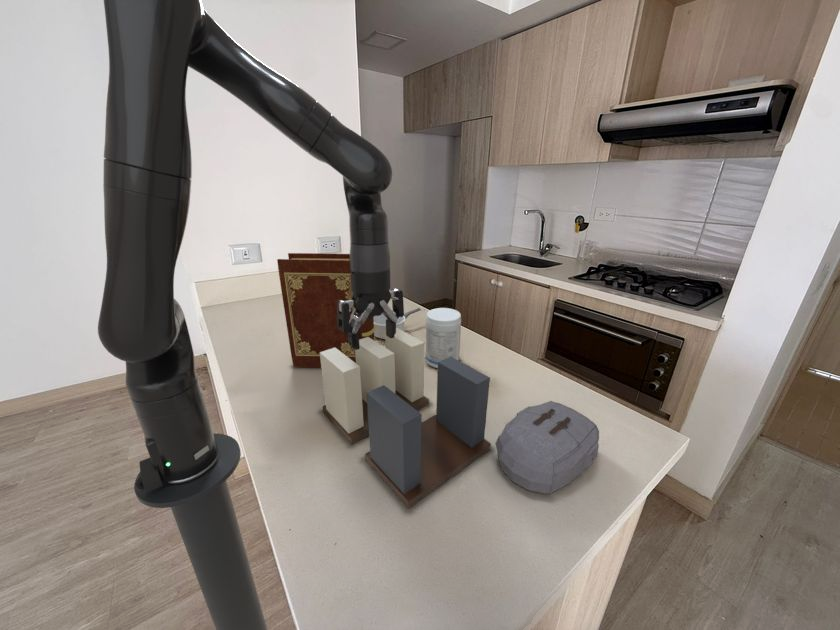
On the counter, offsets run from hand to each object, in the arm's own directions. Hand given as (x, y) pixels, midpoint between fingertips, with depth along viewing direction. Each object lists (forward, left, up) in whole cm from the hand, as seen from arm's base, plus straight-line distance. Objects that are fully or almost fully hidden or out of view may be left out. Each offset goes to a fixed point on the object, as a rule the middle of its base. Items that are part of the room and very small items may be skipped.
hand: (373, 342), depth 71 cm
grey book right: (+8, -18, -15) cm, 25 cm away
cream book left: (-8, 0, -15) cm, 17 cm away
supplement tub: (+26, +6, -17) cm, 32 cm away
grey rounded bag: (+16, -32, -17) cm, 40 cm away
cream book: (0, 0, -15) cm, 15 cm away
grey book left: (-8, -18, -15) cm, 25 cm away
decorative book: (+3, +25, -17) cm, 30 cm away
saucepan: (+29, +31, -17) cm, 46 cm away
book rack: (0, -9, -17) cm, 19 cm away
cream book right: (+8, 0, -15) cm, 17 cm away
